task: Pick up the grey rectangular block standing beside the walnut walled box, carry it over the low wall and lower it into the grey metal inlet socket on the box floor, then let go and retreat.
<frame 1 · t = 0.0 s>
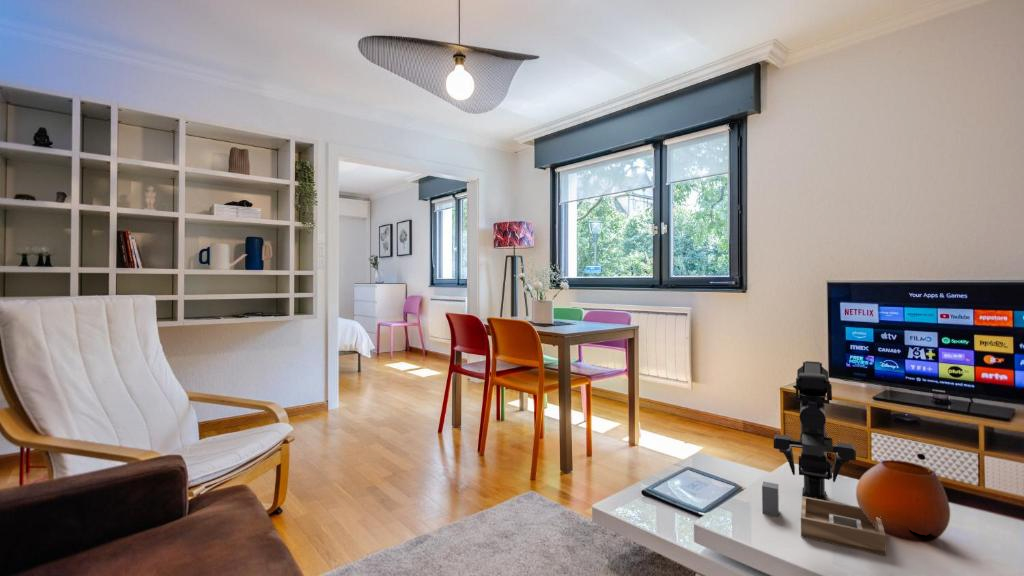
hand: (813, 478, 130), 15 cm above the table, fingers open, 9 cm apart
grey rectangular block: (770, 512, 142), on the table
walled box: (840, 532, 130), on the table
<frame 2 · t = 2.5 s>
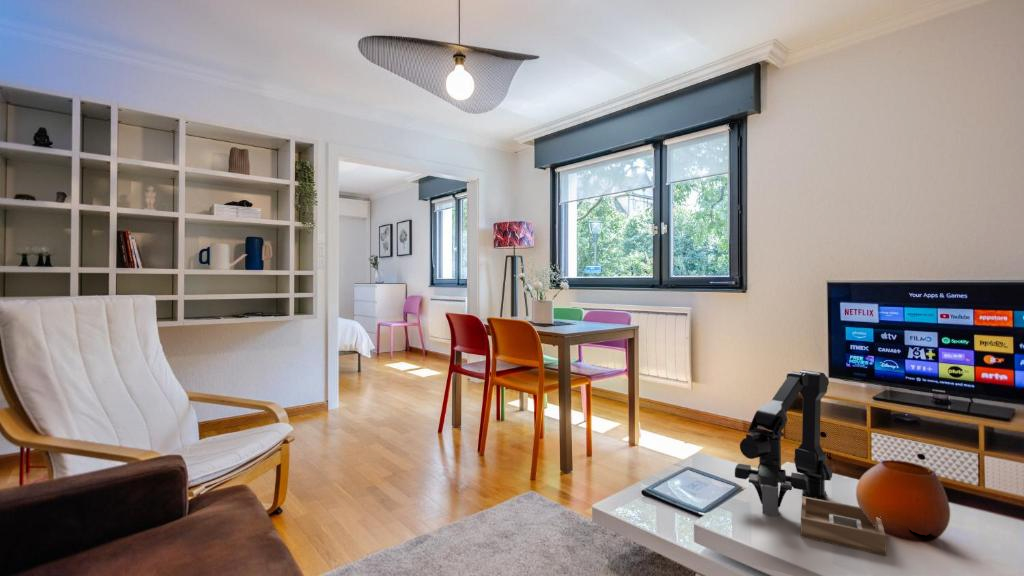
hand: (770, 505, 142), 2 cm above the table, fingers closed on grey rectangular block, 4 cm apart
grey rectangular block: (770, 511, 142), on the table, touching gripper
everything else where it was.
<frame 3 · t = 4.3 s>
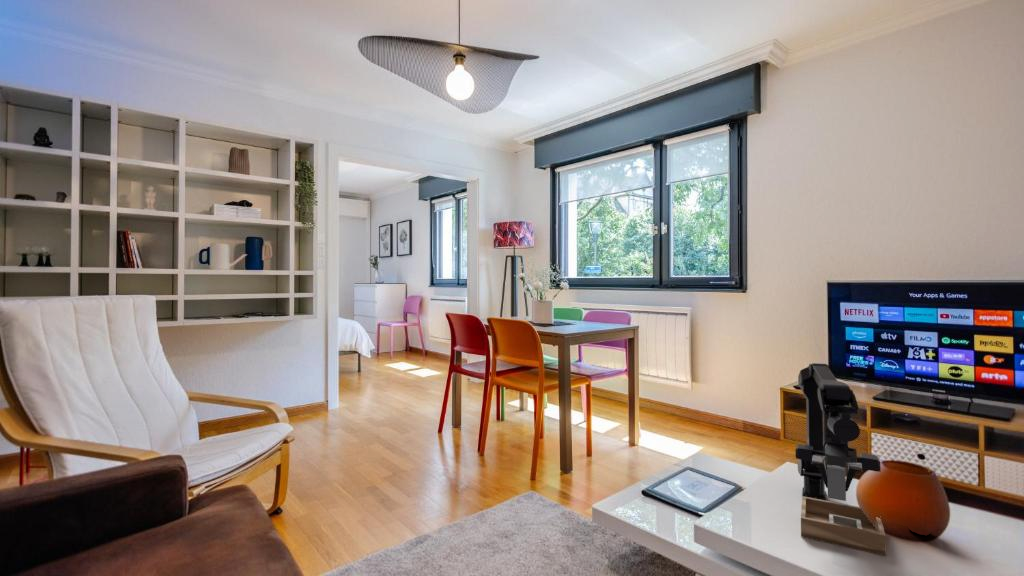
hand: (836, 489, 129), 12 cm above the table, fingers closed on grey rectangular block, 4 cm apart
grey rectangular block: (836, 496, 129), point 10 cm above the table, touching gripper
everything else where it was.
when the fingers open (5 cm above the table, at t = 6.5 s): grey rectangular block drops 2 cm, resting on walled box.
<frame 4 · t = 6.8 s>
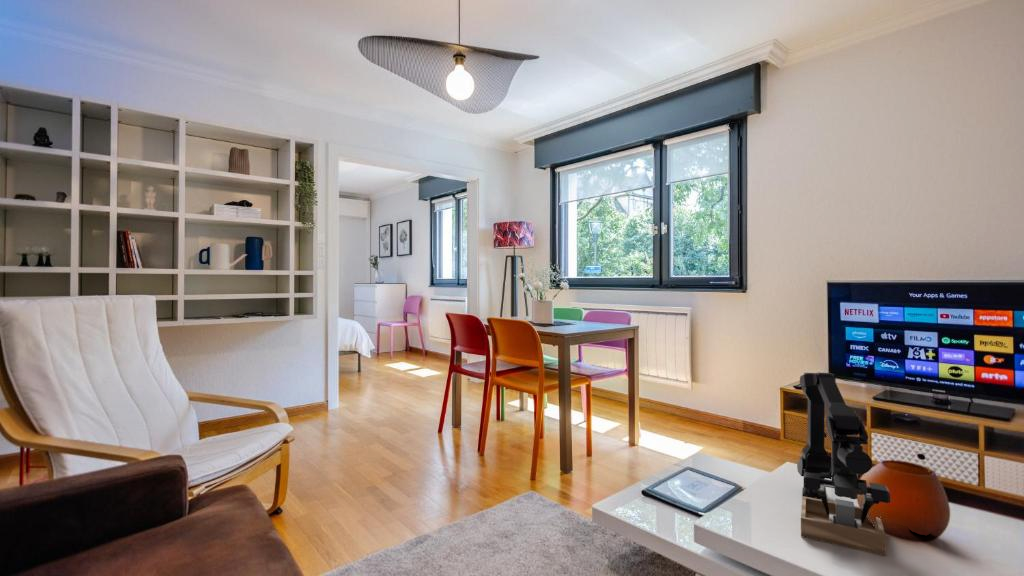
hand: (845, 518, 128), 5 cm above the table, fingers open, 7 cm apart
grey rectangular block: (845, 533, 128), point 1 cm above the table, touching walled box
everything else where it was.
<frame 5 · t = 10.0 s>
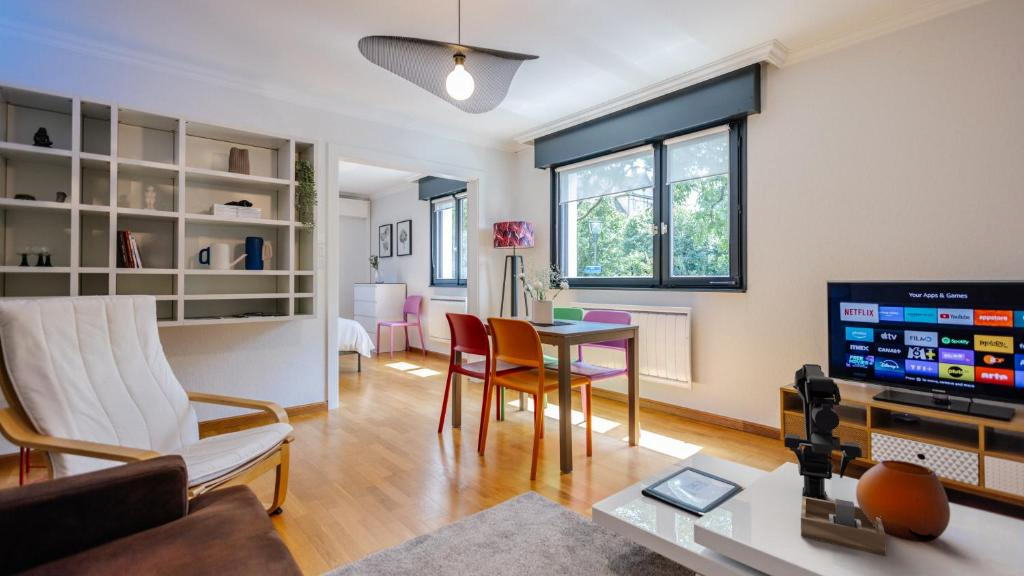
hand: (821, 474, 140), 12 cm above the table, fingers open, 9 cm apart
nothing on the table moved.
at the end: grey rectangular block 0.1 cm from the target spot on the walled box, point 1.0 cm above the walled box's base; grey rectangular block tilted 0°; the gripper is holding nothing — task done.
